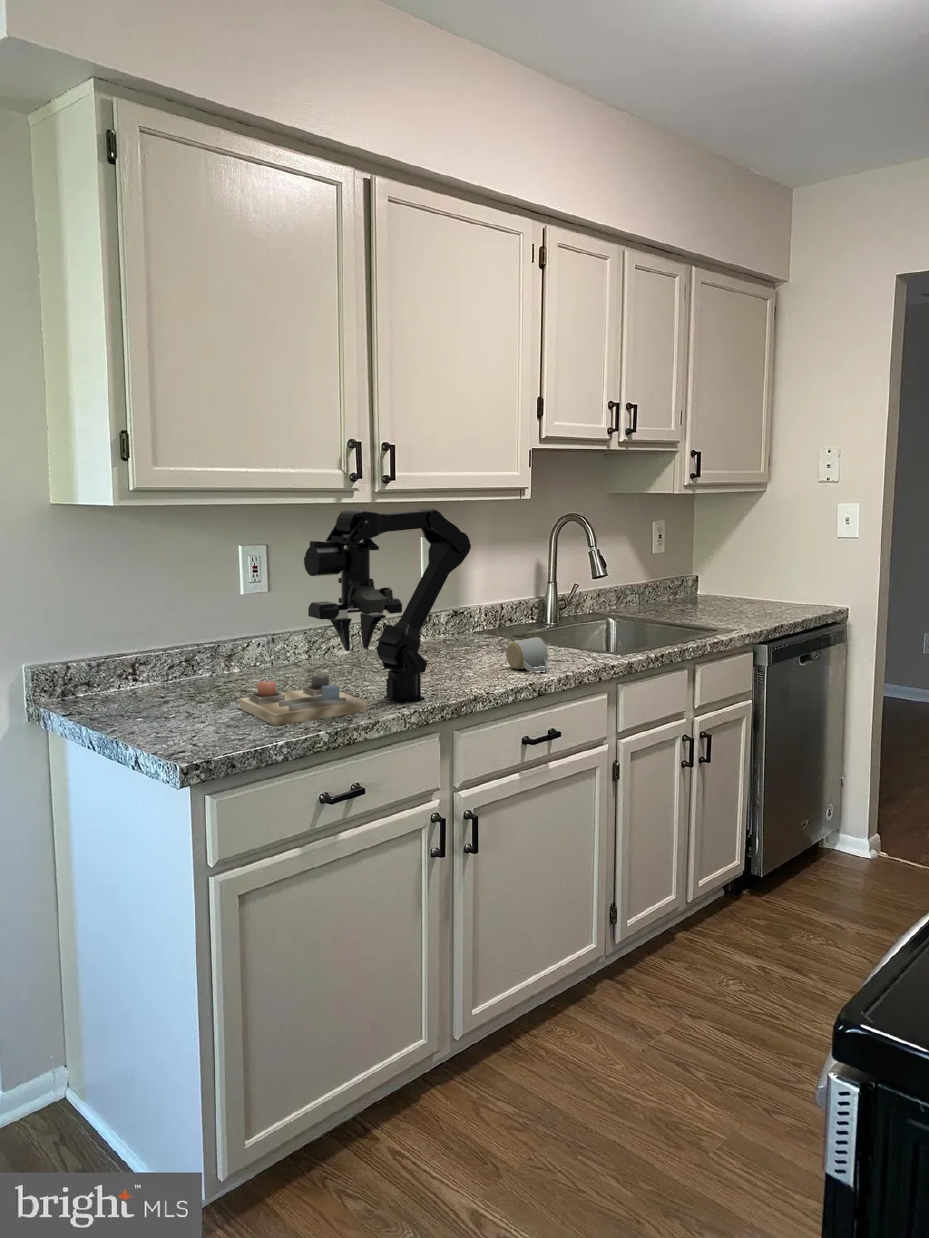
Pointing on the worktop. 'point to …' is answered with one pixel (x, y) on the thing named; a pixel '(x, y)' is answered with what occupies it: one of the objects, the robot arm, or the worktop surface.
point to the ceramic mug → (528, 654)
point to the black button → (320, 680)
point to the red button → (266, 688)
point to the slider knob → (330, 692)
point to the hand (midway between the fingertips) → (356, 649)
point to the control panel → (300, 706)
